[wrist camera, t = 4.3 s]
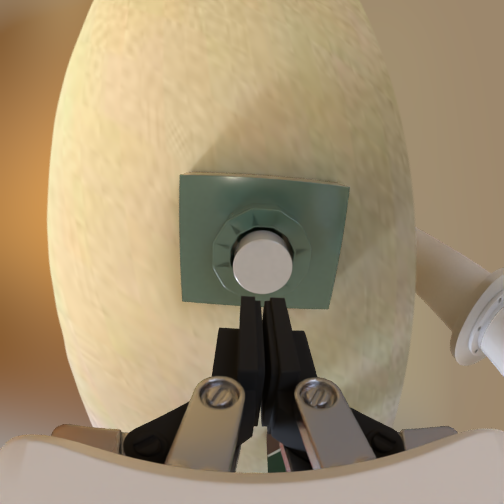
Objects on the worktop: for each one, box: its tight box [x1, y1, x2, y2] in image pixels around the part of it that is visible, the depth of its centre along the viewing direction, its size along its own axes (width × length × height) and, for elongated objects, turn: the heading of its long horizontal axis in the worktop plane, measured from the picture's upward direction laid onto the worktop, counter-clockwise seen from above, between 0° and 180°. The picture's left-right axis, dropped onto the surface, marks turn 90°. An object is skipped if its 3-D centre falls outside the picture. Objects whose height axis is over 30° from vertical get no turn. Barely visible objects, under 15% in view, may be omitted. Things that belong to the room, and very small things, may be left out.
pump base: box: [179, 172, 350, 309], centre depth 20 cm, size 12×10×5 cm
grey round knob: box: [233, 230, 293, 294], centre depth 17 cm, size 4×4×2 cm
